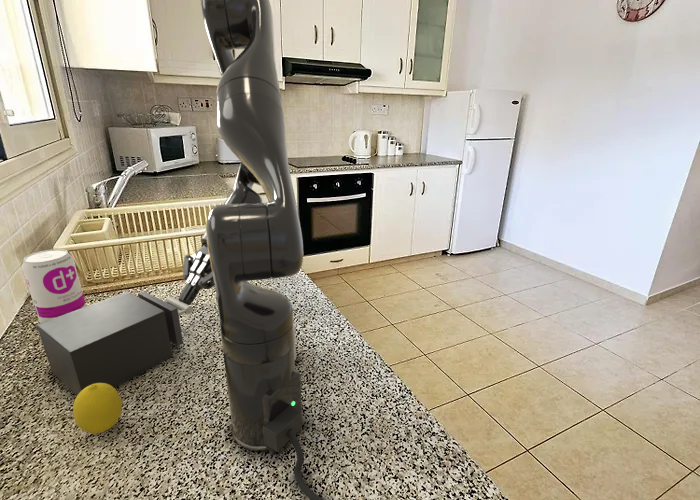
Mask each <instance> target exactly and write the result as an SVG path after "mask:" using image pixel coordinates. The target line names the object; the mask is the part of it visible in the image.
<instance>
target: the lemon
mask: <svg viewBox="0 0 700 500" xmlns="http://www.w3.org/2000/svg"><path fill="white" fill-rule="evenodd" d="M72 406H73V407H72V409H73V411H72V412H73V413H72V414H73V419H74V422H75V423H76V425H77V427H79V429H80V430H81V431H83V432H85V433H87V434H88V433H89V434H101V433H105V432H106V431H108V430H109V429H111V428H112V427H113V426H114V425H116V424H117V422H118V421H119V419H120V418H121V414H122V411H123V402H122V399H121V395H120V394H119V392H118V390H117V389H116V387H115V388H114V387H112V386H111V385H109V384H106V383H95V384H91V385H89V386H87V387H86V388H84V389H83V390H82V391H81V392H80V393H79V394H78V395H76V397H75V399H74V401H73V405H72Z"/></svg>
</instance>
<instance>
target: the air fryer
mask: <svg viewBox="0 0 700 500" xmlns="http://www.w3.org/2000/svg"><path fill="white" fill-rule="evenodd" d="M36 328H37V330H38V334H39V337H40V340H41V343H42V346H43V349H44V352H45V354H46V357H47V361H48V364H49V367H50V371H51V373H52V374H53V375H55V377H57V379H58V380H60V381H61V382H62V384H63V385H65V386H66V387H67V388H68V390H70V391H71V392H72V393H73V394H74V395H76V396H77V395H78V394H79V393H80V392H81V391H82V390H83V389H84V388H86V387H87V386H89V385H91V384H95V383H106V384H109V385H111V386H112V387H114V388H115V389H116V388H117V387H119V386H120V385H122V384H124V383H126V382H128V381H129V380H131V379H133V378H135V377H137V376H139V375H141V374H142V373H144V372H146V371H148V370H149V369H151V368H153V367H155V366H157V365H158V364H161V363H162V362H164V361H166V360H168V359H169V358H171V357H173V351H172V345H171V342H170V339H169V334H168V328H167V323H166V317H165V312H164V311H163V310H161V309H159V308H158V307H156V306H154V305H152V304H150V303H148V302H146V301H145V300H143V299H141V298H139V296H137V295H136V294H133V293H131V292H130V291H125V292H121V293H119V294H116V295H113V296H111V297H108V298H106V299H103V300H100V301H98V302H97V301H96V302H94V303H92V304H89V305H86V307H83V308H81V309H78V310H75V311H72V312H70V313H67V314H64V315H61V316H59V317H56V318H53V319H50V320H48V321H45V322H42V323H40V322H39V323H37V324H36Z"/></svg>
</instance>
